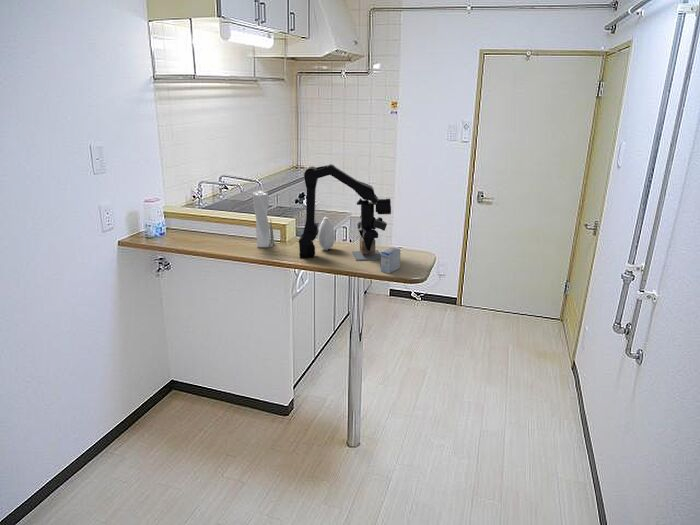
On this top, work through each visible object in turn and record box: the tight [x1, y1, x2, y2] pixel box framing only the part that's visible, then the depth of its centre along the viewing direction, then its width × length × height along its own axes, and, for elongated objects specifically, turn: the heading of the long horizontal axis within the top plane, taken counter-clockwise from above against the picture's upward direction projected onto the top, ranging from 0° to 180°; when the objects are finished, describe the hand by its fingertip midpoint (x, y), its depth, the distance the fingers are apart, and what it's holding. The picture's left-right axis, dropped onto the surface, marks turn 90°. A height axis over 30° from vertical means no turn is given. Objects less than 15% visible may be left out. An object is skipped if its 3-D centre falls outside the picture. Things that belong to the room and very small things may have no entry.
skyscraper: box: [252, 189, 275, 249], centre depth 237 cm, size 8×8×28 cm
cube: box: [359, 236, 376, 254], centre depth 224 cm, size 6×6×6 cm
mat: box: [351, 249, 381, 262], centre depth 226 cm, size 12×12×1 cm
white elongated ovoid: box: [317, 213, 336, 251], centre depth 233 cm, size 8×8×18 cm
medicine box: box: [380, 246, 401, 274], centre depth 207 cm, size 8×4×9 cm, turn 141°
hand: (367, 248), depth 225 cm, fingers closed on cube, 6 cm apart
